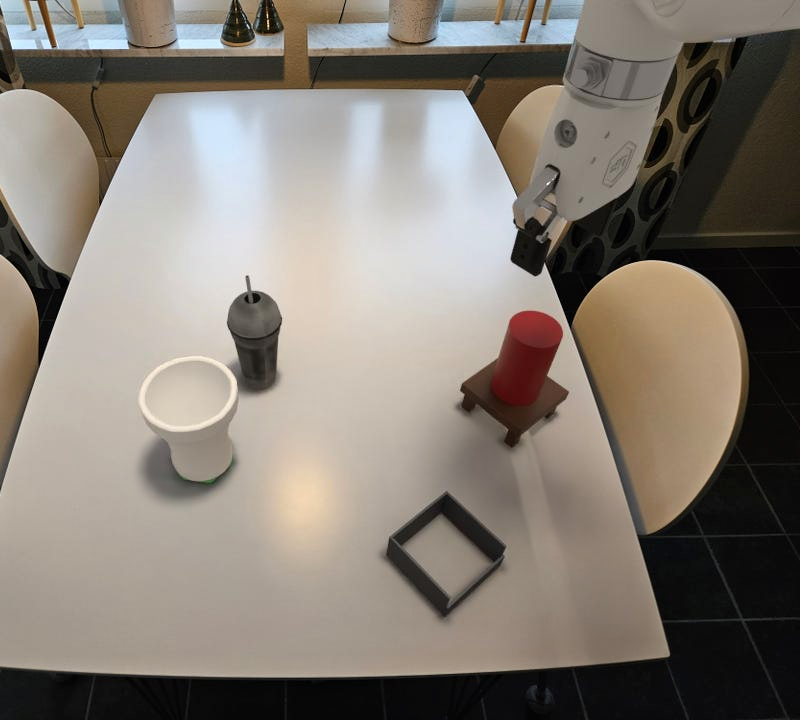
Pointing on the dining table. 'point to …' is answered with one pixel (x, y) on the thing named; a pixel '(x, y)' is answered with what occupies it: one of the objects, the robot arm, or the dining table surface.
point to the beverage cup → (255, 335)
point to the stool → (507, 414)
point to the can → (526, 357)
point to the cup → (192, 414)
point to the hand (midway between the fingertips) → (557, 248)
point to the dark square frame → (467, 526)
